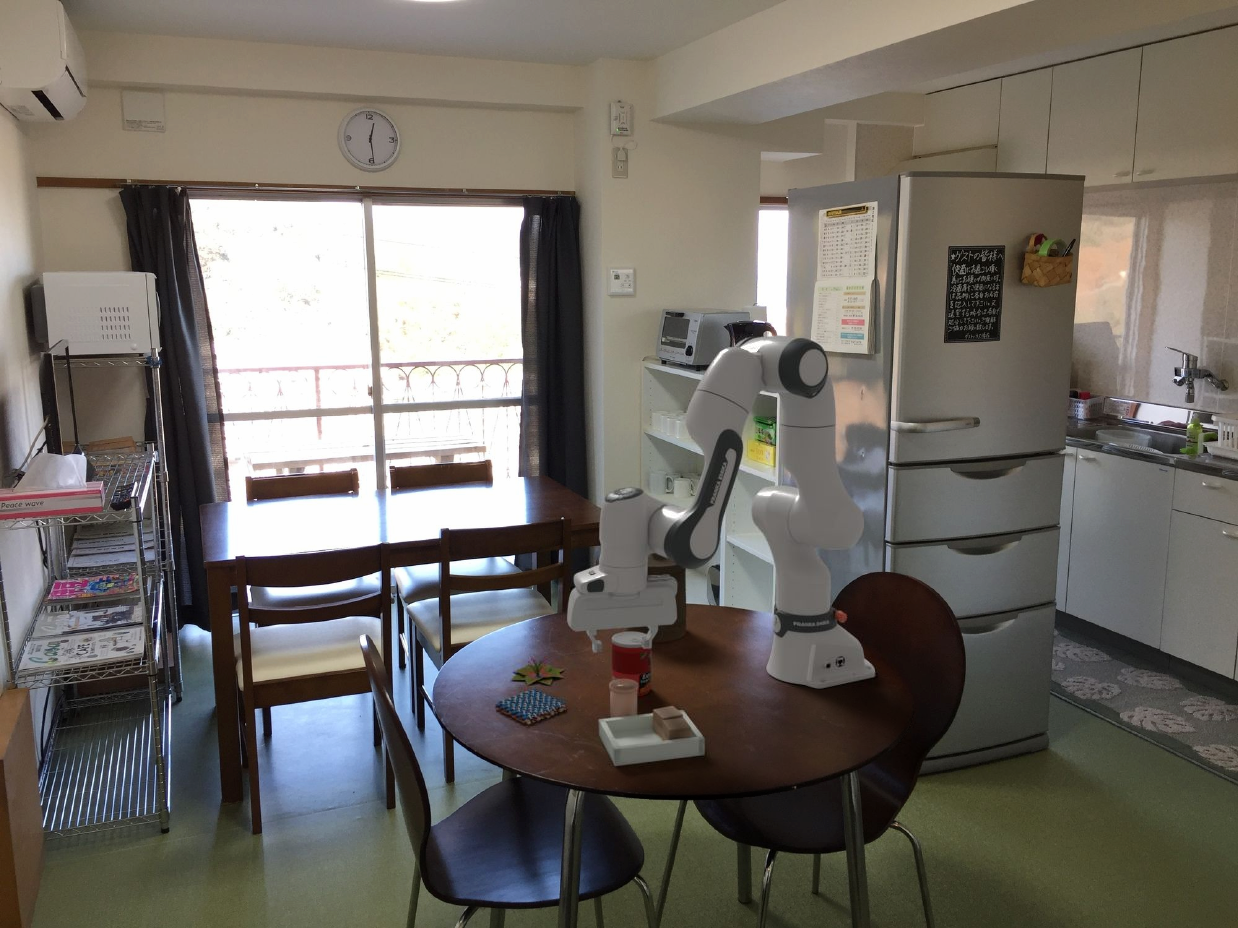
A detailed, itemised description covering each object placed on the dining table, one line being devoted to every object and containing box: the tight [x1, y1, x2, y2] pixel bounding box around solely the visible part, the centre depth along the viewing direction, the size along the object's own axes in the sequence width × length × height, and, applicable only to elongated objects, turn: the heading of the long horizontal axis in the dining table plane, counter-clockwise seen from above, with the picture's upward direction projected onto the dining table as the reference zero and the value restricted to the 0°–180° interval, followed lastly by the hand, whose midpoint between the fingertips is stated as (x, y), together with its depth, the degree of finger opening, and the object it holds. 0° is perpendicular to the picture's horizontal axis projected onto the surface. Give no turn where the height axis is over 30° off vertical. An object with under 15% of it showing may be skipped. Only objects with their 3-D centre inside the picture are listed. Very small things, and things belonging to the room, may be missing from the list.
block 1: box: [652, 705, 683, 738], centre depth 173 cm, size 4×4×4 cm
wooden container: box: [622, 553, 687, 644], centre depth 225 cm, size 15×15×22 cm
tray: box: [598, 709, 706, 767], centre depth 170 cm, size 16×12×3 cm
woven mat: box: [494, 688, 568, 725], centre depth 185 cm, size 10×11×2 cm
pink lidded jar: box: [608, 679, 638, 718], centre depth 180 cm, size 5×5×7 cm
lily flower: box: [510, 653, 566, 686], centre depth 201 cm, size 12×12×5 cm
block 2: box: [662, 718, 691, 741], centre depth 169 cm, size 4×4×4 cm
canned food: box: [611, 631, 652, 698], centre depth 193 cm, size 8×8×11 cm
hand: (622, 649), depth 178 cm, fingers open, 8 cm apart
